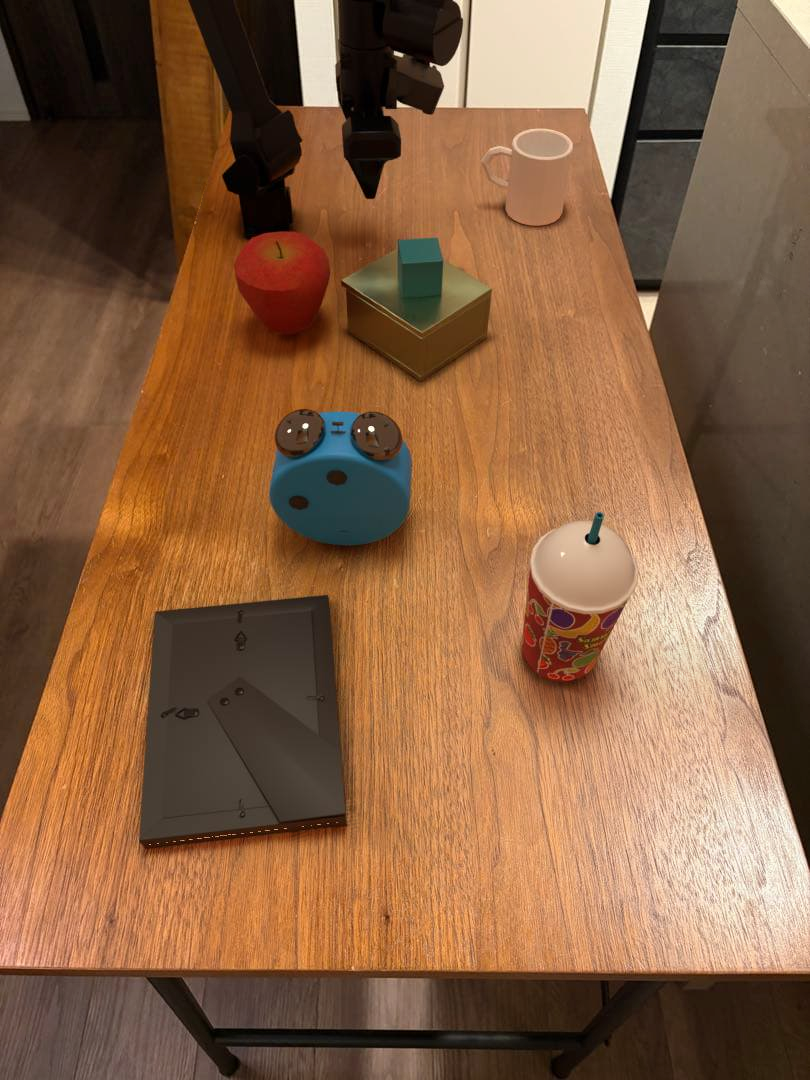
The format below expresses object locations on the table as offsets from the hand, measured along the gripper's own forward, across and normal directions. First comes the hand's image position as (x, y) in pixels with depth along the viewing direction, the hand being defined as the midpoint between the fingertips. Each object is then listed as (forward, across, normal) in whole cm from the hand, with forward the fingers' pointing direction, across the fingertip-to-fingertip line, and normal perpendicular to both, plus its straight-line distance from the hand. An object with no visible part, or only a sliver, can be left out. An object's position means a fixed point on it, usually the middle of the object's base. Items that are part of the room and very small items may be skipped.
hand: (367, 177), depth 102 cm
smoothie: (+12, -60, -13) cm, 63 cm away
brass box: (+12, -15, -5) cm, 20 cm away
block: (+5, -14, -5) cm, 16 cm away
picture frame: (+12, -64, +15) cm, 67 cm away
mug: (+13, +12, -22) cm, 28 cm away
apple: (+13, -12, +11) cm, 20 cm away
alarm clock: (+12, -44, +6) cm, 46 cm away
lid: (+6, -14, -5) cm, 16 cm away
